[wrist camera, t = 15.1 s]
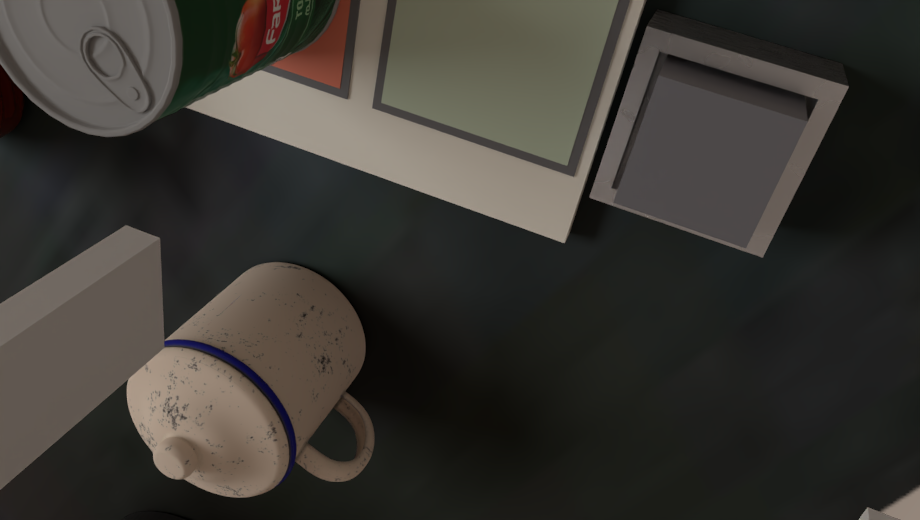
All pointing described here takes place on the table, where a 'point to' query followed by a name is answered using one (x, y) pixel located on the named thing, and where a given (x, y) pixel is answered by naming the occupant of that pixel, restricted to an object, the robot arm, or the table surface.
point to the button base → (739, 57)
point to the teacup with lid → (254, 384)
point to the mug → (9, 103)
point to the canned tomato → (145, 53)
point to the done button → (711, 150)
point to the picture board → (453, 98)
